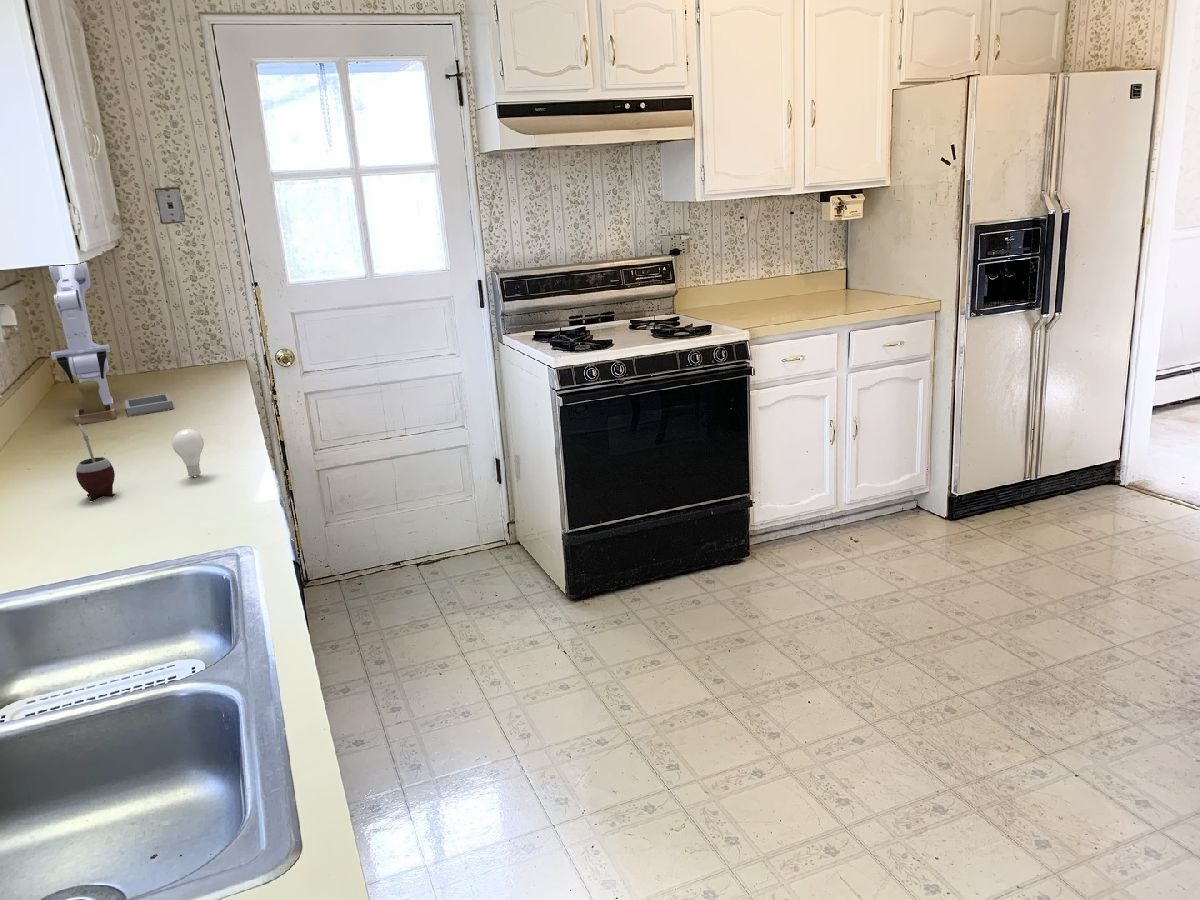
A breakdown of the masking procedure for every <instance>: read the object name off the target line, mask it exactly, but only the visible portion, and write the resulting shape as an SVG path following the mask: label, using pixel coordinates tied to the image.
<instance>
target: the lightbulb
mask: <svg viewBox="0 0 1200 900" xmlns="http://www.w3.org/2000/svg"><path fill="white" fill-rule="evenodd" d="M204 445H205V442H204V438H203V436H202V435H201V433H200V432H198V431H197V430H195V429H192V428H185V429H181V430H179V431H177V432H176V433H175V435H174V436H173V439H172V441H171V446H172V449H173V451H174V452H175V453H176V455H178V456H179V457H180V458H181V460H182V462H183V463H184V465H185V467H186V470H187V475H188V476H189V477H192V478H195V477H194V476H197V477H198V476H200V475H201V474H202V471H201V467H200V461H201V458H200V457H201V453H202V452H203V449H204Z"/></svg>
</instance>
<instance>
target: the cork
mask: <svg viewBox="0 0 1200 900" xmlns="http://www.w3.org/2000/svg"><path fill="white" fill-rule="evenodd" d="M77 388H78V391H79V392H80V393H81V396H82V405H83V407H82V408H84V415H85V414H91V413H97V412H103V411H106V409H105V407H104V404H103V402H102V399H101V397H100V394H99V392H98V391H99V388H100V387H99V384H98V382H97V381H94V380H89V381H84V382H81V383H80V382H79V384H78V387H77Z"/></svg>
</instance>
